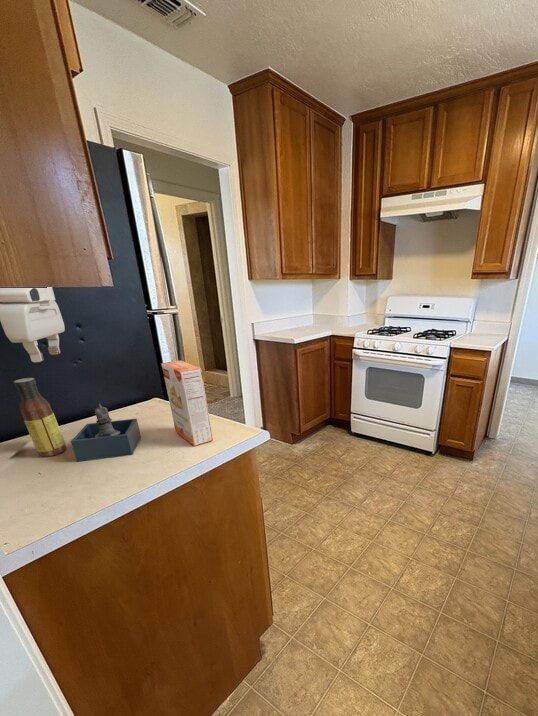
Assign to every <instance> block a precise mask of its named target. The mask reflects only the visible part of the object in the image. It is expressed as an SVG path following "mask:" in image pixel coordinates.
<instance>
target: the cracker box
mask: <svg viewBox="0 0 538 716" xmlns="http://www.w3.org/2000/svg"><path fill="white" fill-rule="evenodd" d="M161 369H162V373H163V378H164V382H165V387H166V392H167V396H168V402H169V406H170V410H171V416H172V420H173V425H174V430H175V431H174V432H176V433H177V434H178V435H179V436H180V437H182V438H183V439H184V440H185V441H187V442H188V443H190V445H192V446H193V447H197V446H200V445H203V444H207V443H209V442H210V443H211V442H212V441H214V437H213V433H212V426H211V419H210V415H209V407H208V402H207V395H206V389H205V383H204V377H203V371H202V370H203V369H202V368H201V367H199V366H197V365H193V364H191V363H189V362H186V361H183V360H181V359H180V360H174V361H166V362H162V363H161Z"/></svg>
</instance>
